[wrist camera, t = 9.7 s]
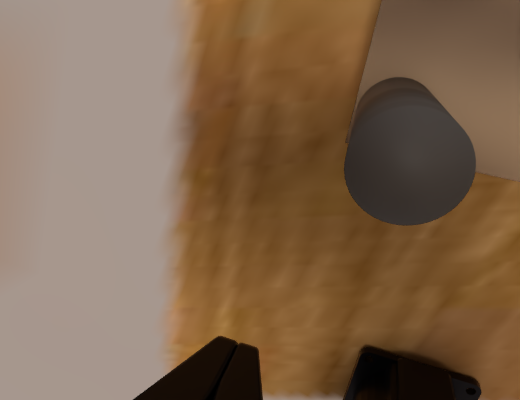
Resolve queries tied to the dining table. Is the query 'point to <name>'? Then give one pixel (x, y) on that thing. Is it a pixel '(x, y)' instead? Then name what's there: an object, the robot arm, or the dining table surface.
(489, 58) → the square plate with pegs
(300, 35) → the dining table surface
